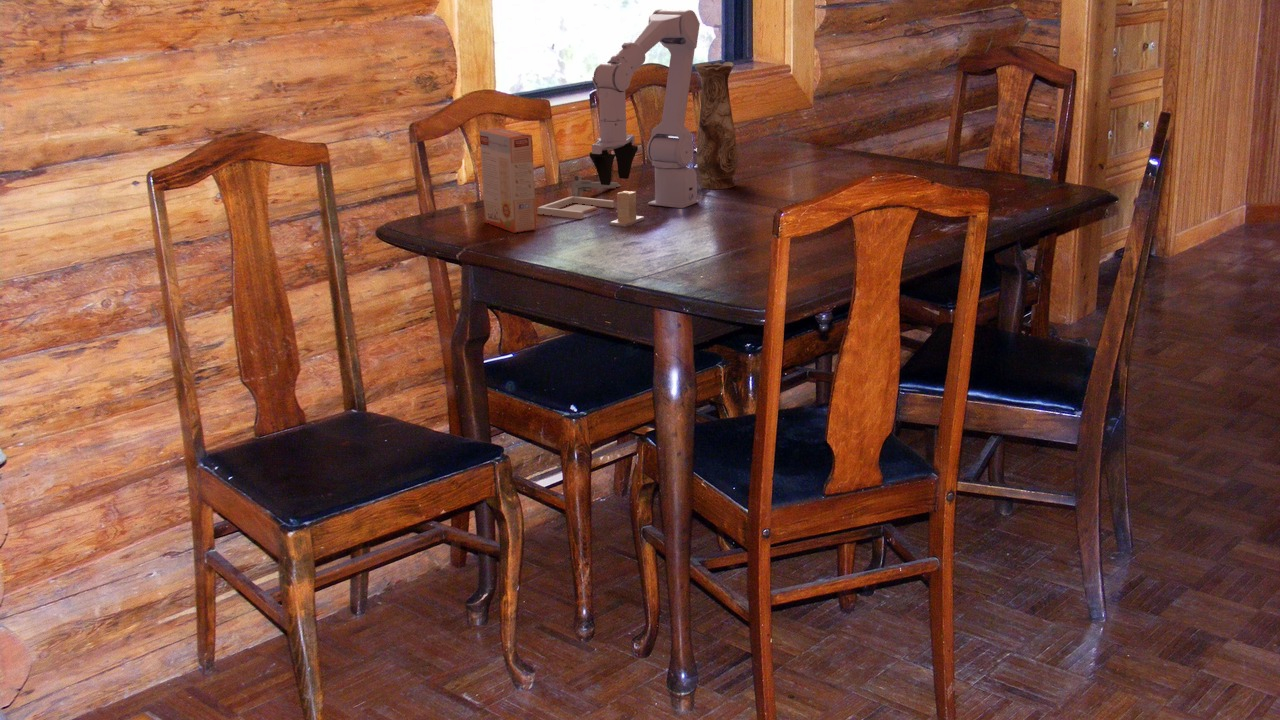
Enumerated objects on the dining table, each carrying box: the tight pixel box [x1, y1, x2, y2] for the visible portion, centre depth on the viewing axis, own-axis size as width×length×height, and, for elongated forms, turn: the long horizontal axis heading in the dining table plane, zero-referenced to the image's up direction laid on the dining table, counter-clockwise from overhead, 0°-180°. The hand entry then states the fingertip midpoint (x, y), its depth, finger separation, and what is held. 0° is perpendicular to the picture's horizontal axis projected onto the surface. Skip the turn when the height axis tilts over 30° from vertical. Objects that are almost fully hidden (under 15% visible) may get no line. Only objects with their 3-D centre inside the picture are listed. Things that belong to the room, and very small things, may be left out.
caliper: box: [571, 175, 622, 197], centre depth 311 cm, size 20×1×6 cm, turn 149°
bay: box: [536, 195, 615, 220], centre depth 294 cm, size 12×14×2 cm
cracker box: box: [479, 127, 537, 234], centre depth 277 cm, size 14×6×21 cm, turn 34°
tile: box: [562, 204, 598, 215], centre depth 294 cm, size 6×6×1 cm
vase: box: [694, 61, 739, 190], centre depth 313 cm, size 10×11×30 cm
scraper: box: [609, 190, 645, 228], centre depth 281 cm, size 4×8×7 cm, turn 148°
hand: (614, 181), depth 280 cm, fingers open, 7 cm apart
